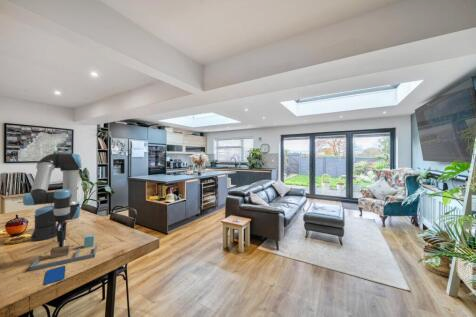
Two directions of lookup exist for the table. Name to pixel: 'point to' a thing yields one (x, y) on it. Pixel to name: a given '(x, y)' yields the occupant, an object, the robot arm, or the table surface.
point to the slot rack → (76, 258)
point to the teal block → (89, 240)
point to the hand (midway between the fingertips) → (61, 251)
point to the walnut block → (59, 251)
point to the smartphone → (54, 275)
